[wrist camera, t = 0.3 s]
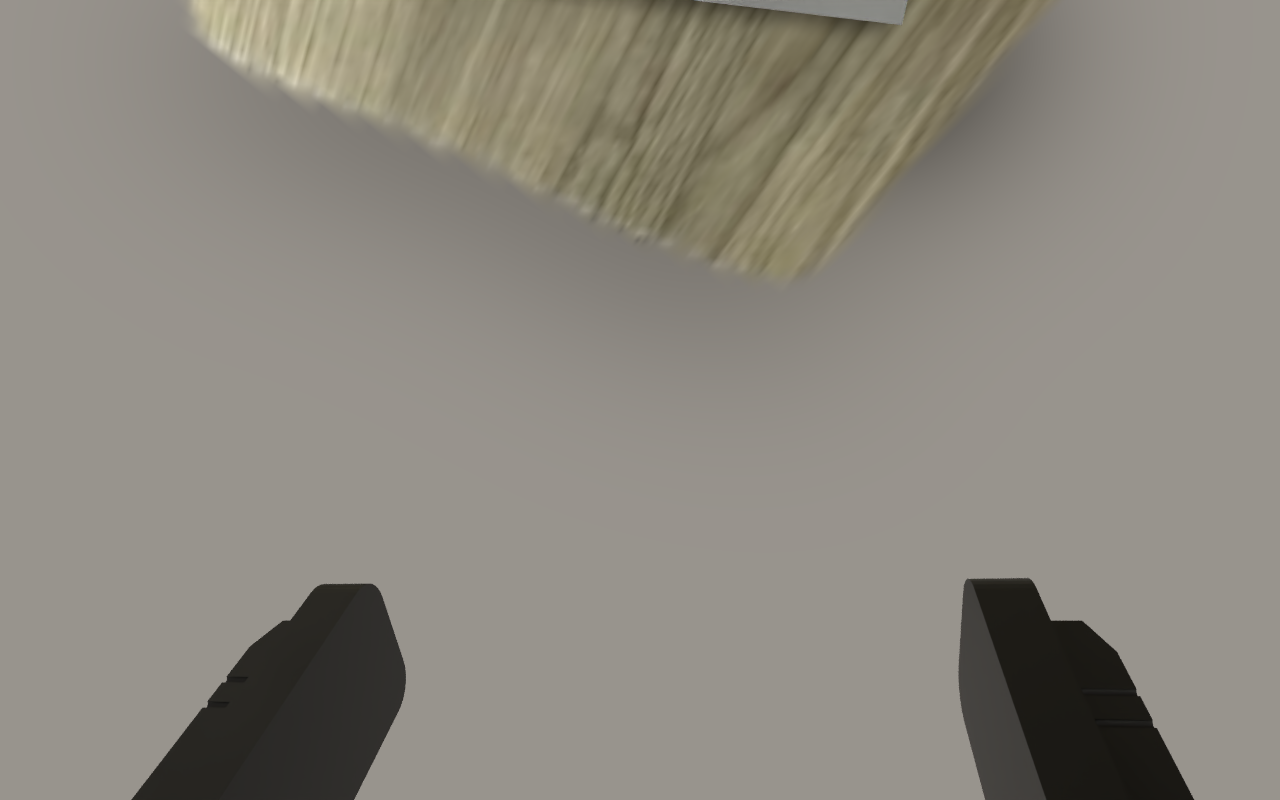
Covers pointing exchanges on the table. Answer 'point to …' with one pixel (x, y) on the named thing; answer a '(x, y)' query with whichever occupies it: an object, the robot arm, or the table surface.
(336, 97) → the table surface
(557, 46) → the table surface
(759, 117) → the table surface
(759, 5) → the console
